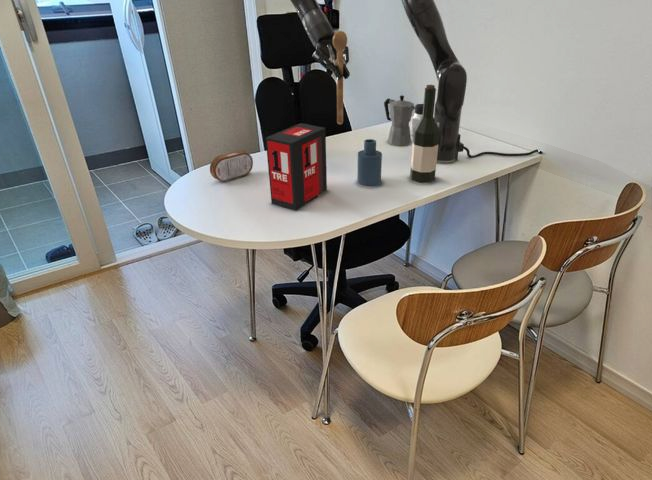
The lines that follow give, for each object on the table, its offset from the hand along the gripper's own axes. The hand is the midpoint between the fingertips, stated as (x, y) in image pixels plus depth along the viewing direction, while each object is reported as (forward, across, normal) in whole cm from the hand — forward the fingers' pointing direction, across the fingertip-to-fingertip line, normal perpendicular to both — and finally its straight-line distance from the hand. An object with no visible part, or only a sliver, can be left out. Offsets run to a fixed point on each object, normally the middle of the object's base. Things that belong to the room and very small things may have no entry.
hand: (344, 77), depth 153 cm
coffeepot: (+14, +37, +29) cm, 49 cm away
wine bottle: (+37, +15, +6) cm, 41 cm away
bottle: (+31, 0, +13) cm, 33 cm away
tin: (+8, -31, +36) cm, 48 cm away
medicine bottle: (+14, +52, +30) cm, 61 cm away
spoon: (+9, 0, +12) cm, 15 cm away
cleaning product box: (+27, -24, +17) cm, 40 cm away
